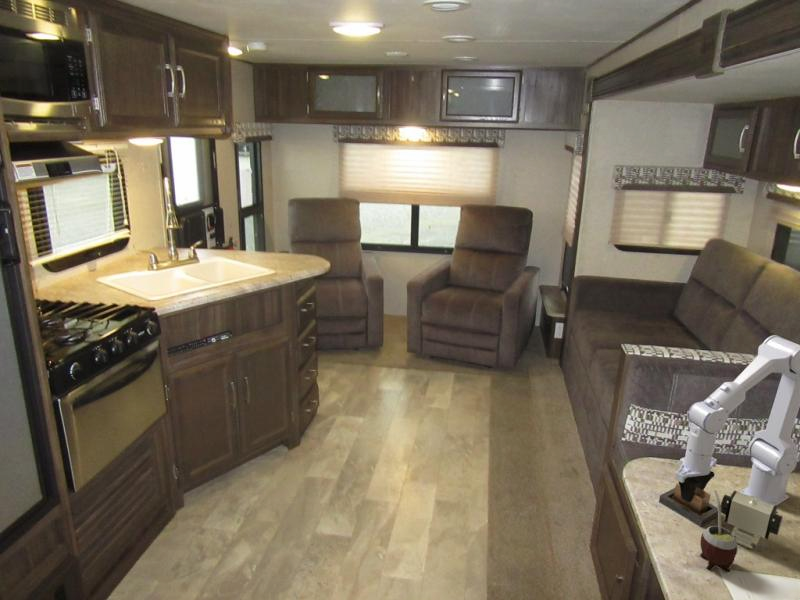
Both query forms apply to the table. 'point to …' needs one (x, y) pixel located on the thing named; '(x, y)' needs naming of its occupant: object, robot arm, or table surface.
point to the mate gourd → (718, 545)
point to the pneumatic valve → (750, 518)
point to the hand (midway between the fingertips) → (690, 497)
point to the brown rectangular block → (694, 500)
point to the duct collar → (687, 513)
